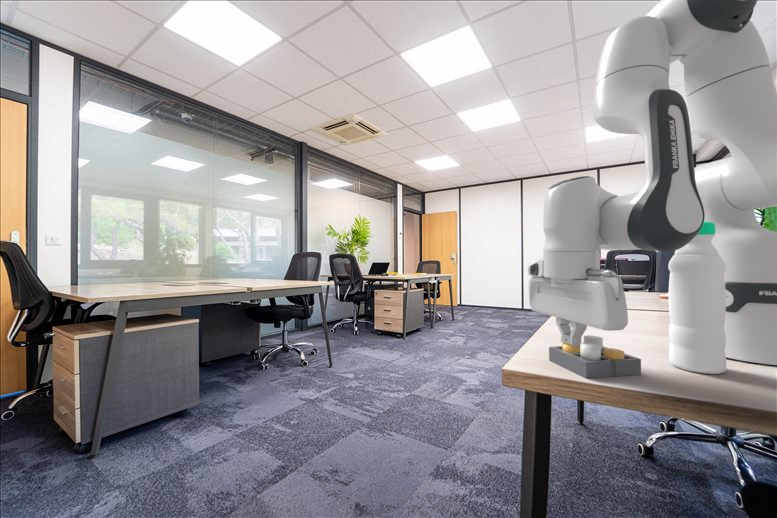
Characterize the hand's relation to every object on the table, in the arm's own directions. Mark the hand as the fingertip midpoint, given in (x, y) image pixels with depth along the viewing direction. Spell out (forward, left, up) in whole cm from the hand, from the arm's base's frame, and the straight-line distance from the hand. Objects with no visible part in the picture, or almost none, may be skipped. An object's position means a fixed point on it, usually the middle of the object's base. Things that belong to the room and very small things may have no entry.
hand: (570, 344), depth 57 cm
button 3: (-5, 0, -2) cm, 5 cm away
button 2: (0, +4, -2) cm, 5 cm away
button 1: (0, 0, -3) cm, 3 cm away
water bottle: (-19, +6, -4) cm, 20 cm away
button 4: (-5, +4, -3) cm, 7 cm away
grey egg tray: (-2, +2, -3) cm, 5 cm away
